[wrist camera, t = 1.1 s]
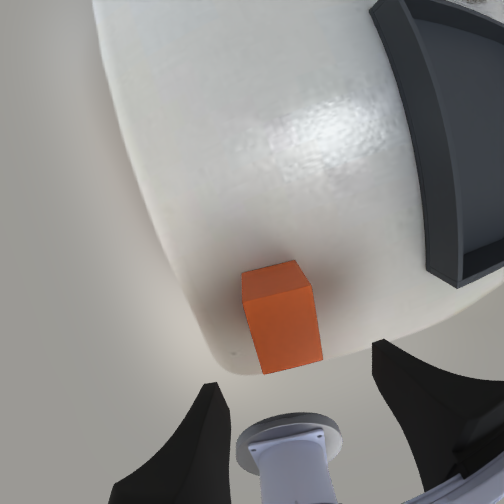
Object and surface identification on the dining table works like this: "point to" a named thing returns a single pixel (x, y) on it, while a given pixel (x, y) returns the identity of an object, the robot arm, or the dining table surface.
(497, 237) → the bin
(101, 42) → the dining table surface
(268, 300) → the orange block
